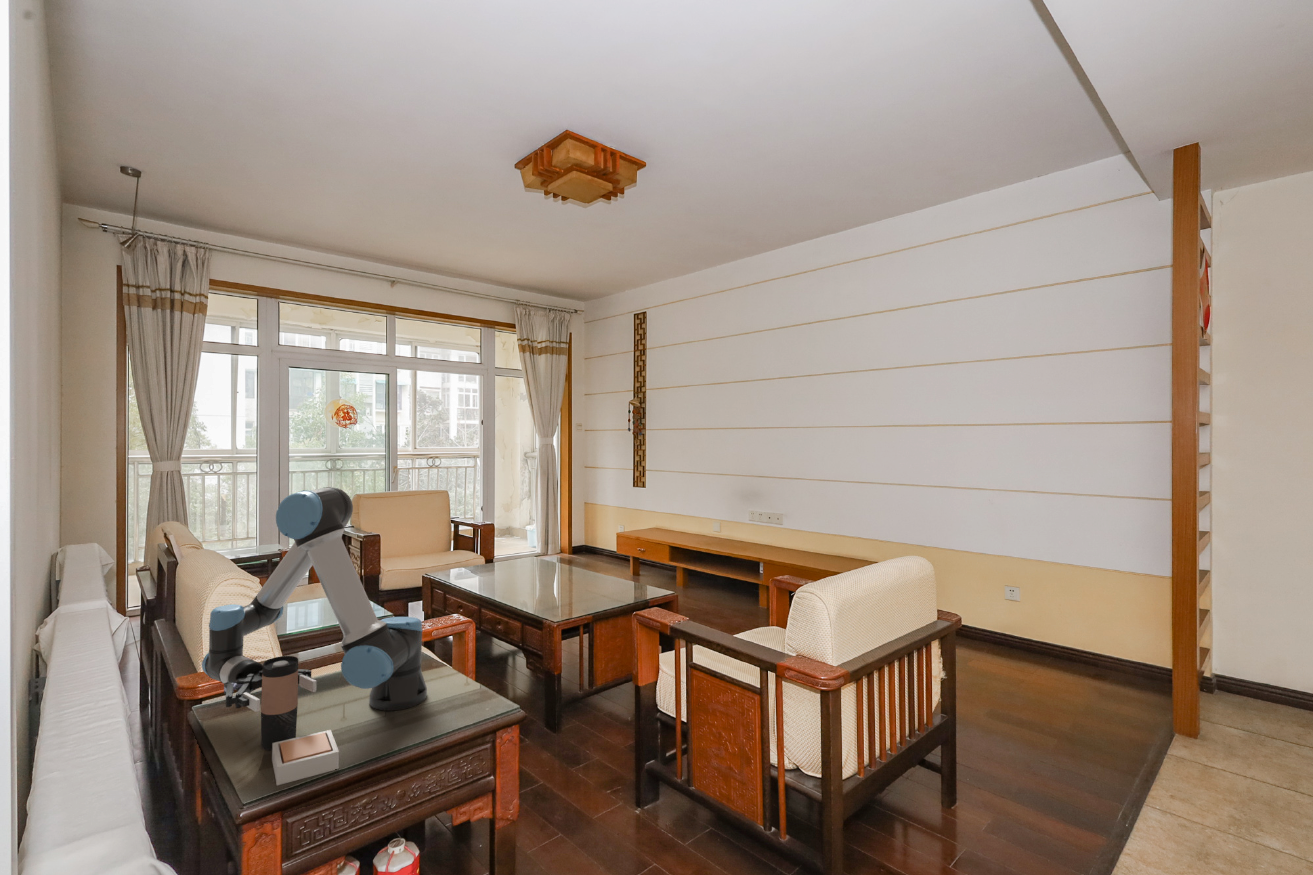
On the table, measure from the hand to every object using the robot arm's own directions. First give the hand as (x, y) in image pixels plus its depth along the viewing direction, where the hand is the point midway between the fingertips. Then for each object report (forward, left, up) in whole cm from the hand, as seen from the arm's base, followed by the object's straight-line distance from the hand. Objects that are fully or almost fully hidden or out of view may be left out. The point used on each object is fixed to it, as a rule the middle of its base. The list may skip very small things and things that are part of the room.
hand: (287, 695), depth 149 cm
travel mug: (+1, -3, -13) cm, 13 cm away
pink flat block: (-3, +11, -11) cm, 16 cm away
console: (-3, +11, -12) cm, 17 cm away
